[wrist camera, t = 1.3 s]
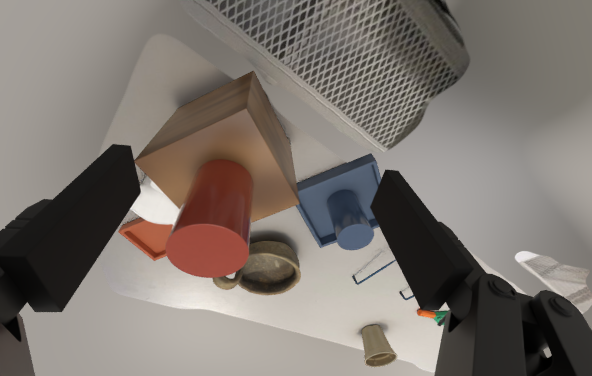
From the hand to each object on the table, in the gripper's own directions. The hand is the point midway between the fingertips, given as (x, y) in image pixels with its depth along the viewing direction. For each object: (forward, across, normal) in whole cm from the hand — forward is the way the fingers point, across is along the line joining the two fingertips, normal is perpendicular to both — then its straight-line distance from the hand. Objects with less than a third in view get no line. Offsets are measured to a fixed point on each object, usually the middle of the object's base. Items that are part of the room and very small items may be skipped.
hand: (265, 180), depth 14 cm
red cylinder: (+11, -4, -8) cm, 14 cm away
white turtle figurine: (+26, -14, -18) cm, 35 cm away
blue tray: (+26, +16, -20) cm, 37 cm away
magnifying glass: (+26, +57, -61) cm, 87 cm away
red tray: (+26, -17, -31) cm, 44 cm away
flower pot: (+26, +39, -70) cm, 84 cm away
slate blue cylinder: (+25, +16, -20) cm, 36 cm away
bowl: (+26, +2, -35) cm, 44 cm away
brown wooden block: (+26, -4, -8) cm, 27 cm away
